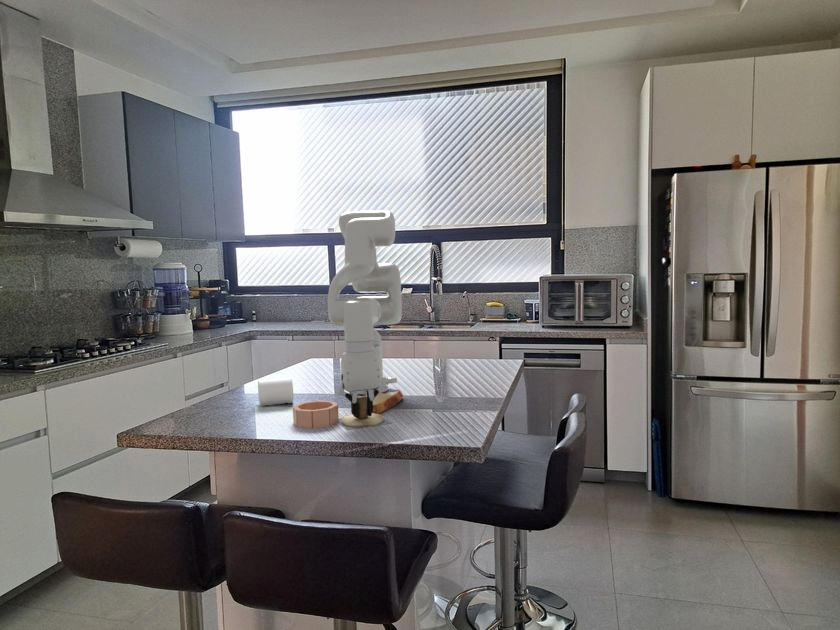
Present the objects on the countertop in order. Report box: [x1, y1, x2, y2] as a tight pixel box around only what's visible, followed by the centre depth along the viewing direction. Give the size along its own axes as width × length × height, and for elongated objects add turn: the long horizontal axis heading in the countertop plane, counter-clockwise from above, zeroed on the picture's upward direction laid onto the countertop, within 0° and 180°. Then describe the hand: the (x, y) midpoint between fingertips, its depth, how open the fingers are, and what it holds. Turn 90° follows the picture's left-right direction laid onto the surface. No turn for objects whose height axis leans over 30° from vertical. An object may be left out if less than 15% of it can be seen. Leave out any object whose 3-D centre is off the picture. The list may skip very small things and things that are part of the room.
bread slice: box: [364, 389, 404, 414], centre depth 172 cm, size 18×18×4 cm
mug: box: [257, 376, 294, 407], centre depth 181 cm, size 12×10×8 cm
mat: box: [337, 417, 393, 431], centre depth 154 cm, size 12×12×1 cm
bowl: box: [292, 400, 340, 429], centre depth 154 cm, size 11×11×5 cm
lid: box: [342, 395, 384, 428], centre depth 153 cm, size 11×11×6 cm
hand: (362, 415), depth 153 cm, fingers closed on lid, 2 cm apart
